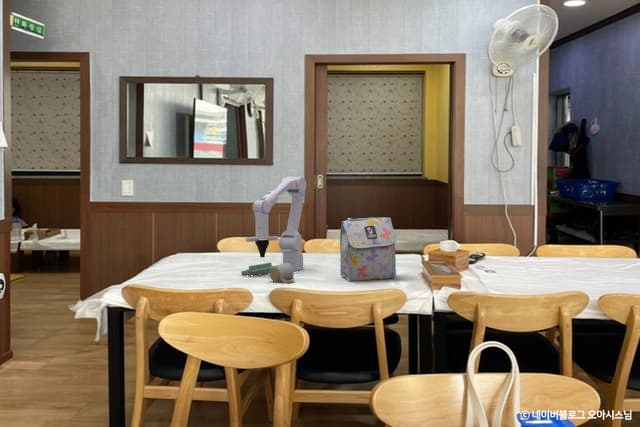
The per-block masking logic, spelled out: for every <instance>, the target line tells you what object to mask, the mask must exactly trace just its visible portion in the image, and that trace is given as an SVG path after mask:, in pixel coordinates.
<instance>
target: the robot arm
mask: <svg viewBox="0 0 640 427" xmlns="http://www.w3.org/2000/svg"><path fill="white" fill-rule="evenodd" d="M306 189H307V181H306V180H305V178H304V176H285V177H284V178H282V180H281V182H280V184H278V186H277V187H276V188H275V189H274V190H268V191H267V192H266V194H265V195H264V196H261V198H260V199H257V200H255V201H254V202H253V204H252V206H251V207H252V212H253V214H254V219H255V220H254V221H255V236H249V237H245V241H246V243H250V242H251V243H252V242H254V243H255V245H256V248H257V250H258V254H259V257H260V258H265V257H266V252H267V248H268V247H269V245H270V242H272V241H278V246H279V249H280V251H281V252H282V264H283V263H289V264H290V265H291V266H292V268H293V271H294V272H295V271H302V270H305V267H304V254H303V251H300V250H301V248H302V245H303V244H302V235H301V234H300V232H299V227H300V221H301V217H302V211H303V206H304V205H303V204H304V199H305V194H306ZM286 192H287V194H289V196H291V198H292V199H291V204H290V210H289V214H288V219H287V220H288V221H287V226H286V230H284V231H283V232H282V233H281V236H280V238H279V236H278V235H269V213H270V212H271V209H272V208H273V206H274V205H275V204H276V203H277V202H278V201H279V200H280V199H279V198H280V196H282V194H285V193H286Z"/></svg>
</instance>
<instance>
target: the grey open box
mask: <svg viewBox="0 0 640 427" xmlns="http://www.w3.org/2000/svg"><path fill="white" fill-rule="evenodd" d="M246 270H247V269H245V270H241V271H240V272H241V274H242V275H241V276H244V275H248V276H247V277H252V276H251V275H256V276H260V275H259V274H263V275H268V274H267V273H270V269H268V270H262V271H257V272H249V271H246Z"/></svg>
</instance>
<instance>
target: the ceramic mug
mask: <svg viewBox="0 0 640 427" xmlns="http://www.w3.org/2000/svg"><path fill="white" fill-rule="evenodd" d="M272 266H273V267H271V269H270V274H269V277H270V279H271V280H272V281H273V282H274V283H284V284H293V283H294V281H295V277H294V275H295V274H294V273H295V271H293V268H292V266H291V265H290V264H289V263H283V262H282V263H279V264H275V265H272Z"/></svg>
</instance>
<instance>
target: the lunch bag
mask: <svg viewBox="0 0 640 427" xmlns="http://www.w3.org/2000/svg"><path fill="white" fill-rule="evenodd" d="M339 230H340V231H339V232H340V233H339V242H340V243H339V246H340V248H339V249H340V260H339V263H340V277H342V278H346V280H347V281H348V282H351V281H352V282H353V281H354V282H356V281H357V282H359V281H368V280H369V281H370V280H371V281H372V280H385V279H386V280H387V279H396V277H397V270H396V264H397V263H396V261H397V260H396V242H397V236H396V232H395V228H394V227H393V223H392V218H391V217H365V218H351V217H347V220H344V221H343V220H342V221H341V226H340V229H339Z"/></svg>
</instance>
